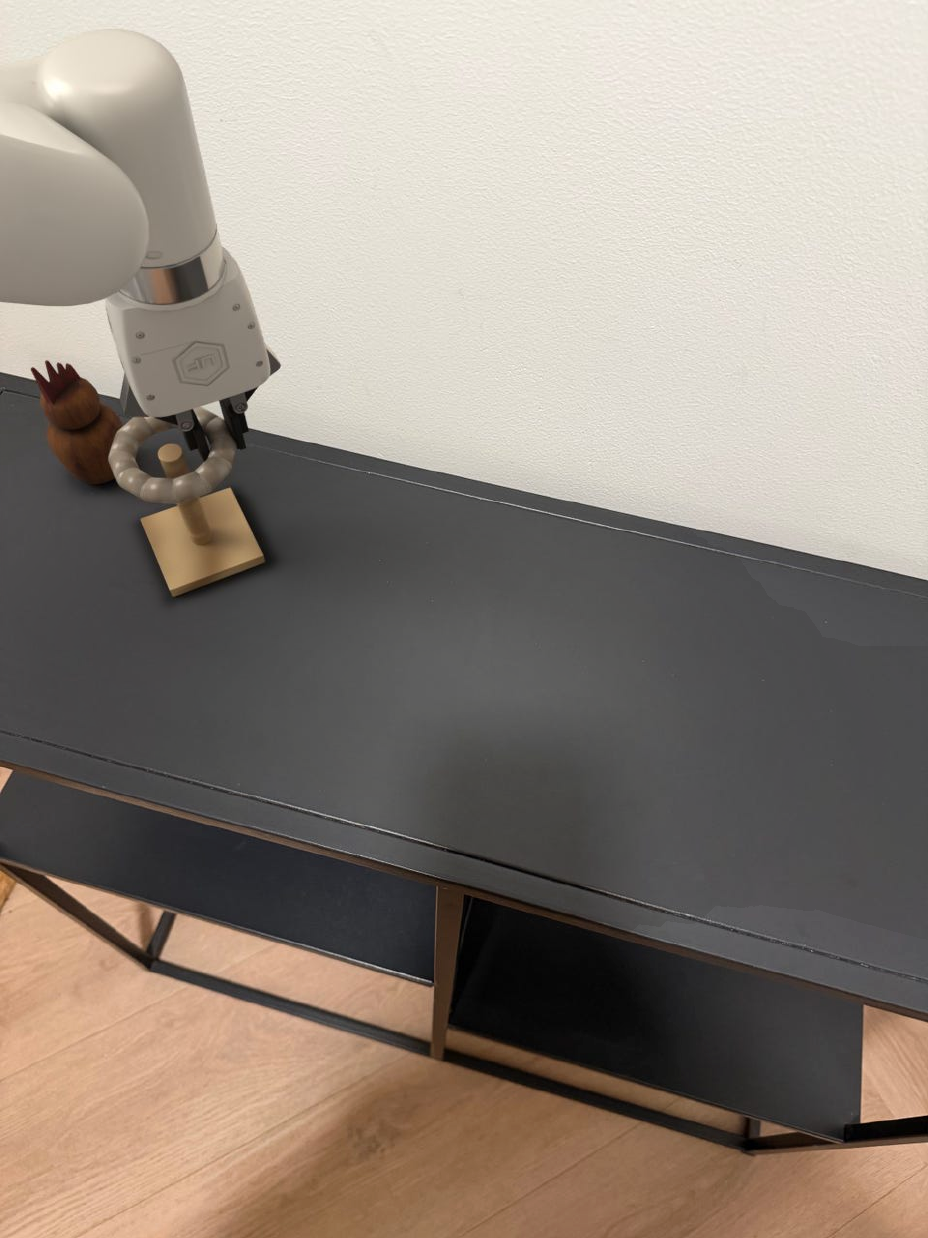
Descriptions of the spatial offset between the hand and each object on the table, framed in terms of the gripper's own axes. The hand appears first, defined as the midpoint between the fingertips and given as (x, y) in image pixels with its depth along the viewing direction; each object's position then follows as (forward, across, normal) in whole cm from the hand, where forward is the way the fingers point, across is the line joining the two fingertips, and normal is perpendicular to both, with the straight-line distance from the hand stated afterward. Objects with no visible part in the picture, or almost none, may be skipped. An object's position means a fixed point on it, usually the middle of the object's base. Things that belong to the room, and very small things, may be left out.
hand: (219, 442), depth 71 cm
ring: (-1, -4, 0) cm, 4 cm away
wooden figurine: (+13, -10, +13) cm, 21 cm away
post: (+12, -4, 0) cm, 13 cm away
